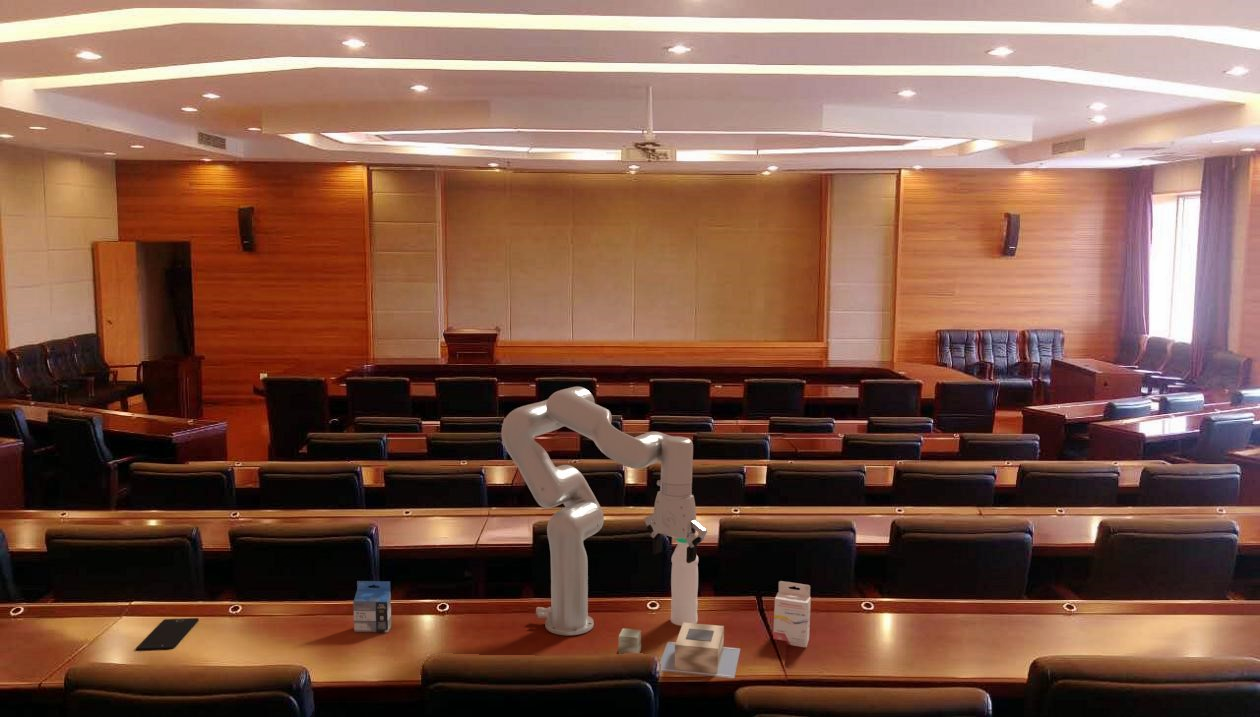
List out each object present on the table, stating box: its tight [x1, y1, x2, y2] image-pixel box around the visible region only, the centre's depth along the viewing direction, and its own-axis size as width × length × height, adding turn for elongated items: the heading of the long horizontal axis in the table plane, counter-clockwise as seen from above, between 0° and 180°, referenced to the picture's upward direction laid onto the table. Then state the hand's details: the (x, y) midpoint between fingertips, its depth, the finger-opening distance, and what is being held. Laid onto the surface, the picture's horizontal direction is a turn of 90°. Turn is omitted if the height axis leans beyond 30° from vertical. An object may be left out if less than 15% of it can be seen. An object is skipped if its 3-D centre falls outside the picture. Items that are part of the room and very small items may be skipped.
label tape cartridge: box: [352, 580, 392, 633], centre depth 239 cm, size 9×4×12 cm, turn 90°
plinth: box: [675, 622, 725, 673], centre depth 221 cm, size 10×13×6 cm
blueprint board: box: [659, 641, 741, 679], centre depth 221 cm, size 18×16×1 cm
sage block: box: [618, 628, 642, 655], centre depth 224 cm, size 5×5×6 cm
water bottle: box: [670, 538, 699, 627], centre depth 242 cm, size 7×7×25 cm
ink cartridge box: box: [772, 580, 812, 648], centre depth 233 cm, size 9×5×15 cm, turn 71°
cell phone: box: [135, 617, 199, 652], centre depth 236 cm, size 9×18×1 cm, turn 6°
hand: (674, 557), depth 225 cm, fingers open, 9 cm apart
